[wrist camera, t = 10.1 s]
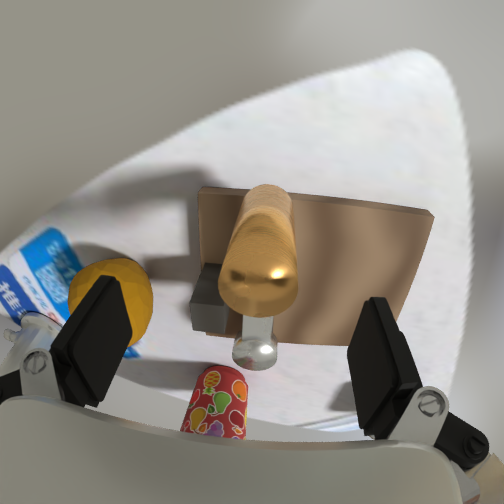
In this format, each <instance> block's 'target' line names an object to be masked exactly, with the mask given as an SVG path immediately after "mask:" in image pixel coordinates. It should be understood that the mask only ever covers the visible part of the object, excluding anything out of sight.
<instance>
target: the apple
mask: <svg viewBox="0 0 504 504" xmlns="http://www.w3.org/2000/svg"><path fill="white" fill-rule="evenodd" d="M100 275H108V276H114V277H115V278H116V279H117V280H118V281H119V282H120V285H121V289H122V293H123V297H124V301H125V304H126V308H127V312H128V316H129V319H130V323H131V326H132V330H133V334H132V338H131V340H130V343H129V345H128V347H129V346H131V345H133V344H134V343H135V342H137V341H138V340H140V339H141V338H142V336H143V335H144V334H145V332H146V329H147V327H148V324H149V322H150V319H151V316H152V313H153V292H152V287H151V283H150V281H149V278H148V276H147V274H146V272H145V271H144V269H143V268H142V267H141V266H140V265H139V264H138V263H137V262H135V261H132V260H129V259H127V258H116V259H106V260H103V261H99V262H96V263H93V264H91V265H89V266H87V267H85V268H83V269H82V270H80V271H79V272H78V273H77V274H76V275H75V276H74V278H73V280H72V282H71V284H70V288H69V295H68V308H69V312H70V315H71V314H72V313H73V311H74V310H75V309H76V307H77V306H78V304H79V303H80V302H81V300H82V299H83V298H84V296H85V295H86V293H87V292H88V291H89V289H90V288H91V287H92V285H93V284H94V283H95V281H96V280H97V279H98V278H99V276H100Z"/></svg>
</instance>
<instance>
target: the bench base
mask: <svg viewBox="0 0 504 504" xmlns="http://www.w3.org/2000/svg"><path fill="white" fill-rule="evenodd" d="M249 191H250V190H248V189H232V188H214V187H202V188H201V189H200V191H199V192H198V215H199V238H200V257H201V274H200V277H199V279H198V282H197V284H196V287H195V290H194V292H193V295H192V297H191V300H190V311H191V320H192V328H193V330H195V331H202V332H206V335H210V336H218V337H226V338H235V336H236V334H237V333H238V332H239V331H240V330H242V329H243V314H240V313H238V312H236V311H234V310H233V309H232V308H230V307H229V306H228V305H227V304H226V303H225V302H224V300H223V299H222V297H221V295H220V293H219V289H218V279H219V275H220V272H221V269H222V265H223V262H224V259H225V256H226V253H227V249H228V246H229V243H230V240H231V237H232V233H233V230H234V227H235V224H236V221H237V218H238V214H239V211H240V208H241V205H242V202H243V199H244V197H245V195H246V194H247V193H248V192H249ZM286 193H287V192H286ZM287 194H288V195H289V196H290V198H291V200H292V203H293V212H294V225H295V240H296V255H297V272H298V294H297V297H296V299H295V301H294V302H293V304H292V305H291V306H290V307H289V308H288V309H287V310H285V311H284V312H282V313H280V314H278V315H275V316H274V317H273V324H272V331H271V332H273V333H274V334H275V336H276V337H277V341H278V342H280V343H294V344H311V345H334V346H349V344H350V341H351V339H352V336H353V333H354V330H355V328H356V325H357V322H358V319H359V316H360V313H361V310H362V307H363V304H364V302H365V301H366V300H369V298H370V297H385V298H386V299H387V301H388V304H389V306H390V309H391V311H392V313H393V316H394V318H395V321H397V318H398V316H399V314H400V312H401V309H402V307H403V305H404V302H405V300H406V297H407V295H408V292H409V290H410V287H411V285H412V282H413V280H414V277H415V275H416V272H417V269H418V266H419V264H420V261H421V258H422V255H423V252H424V249H425V246H426V243H427V240H428V237H429V234H430V231H431V228H432V224H433V221H434V218H435V217H434V216H433V215H432V214H431V213H430V212H429V211H428V210H424V209H418V208H411V207H405V206H398V205H391V204H384V203H377V202H369V201H362V200H354V199H345V198H336V197H327V196H318V195H308V194H298V193H287Z"/></svg>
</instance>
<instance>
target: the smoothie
mask: <svg viewBox="0 0 504 504" xmlns="http://www.w3.org/2000/svg"><path fill="white" fill-rule="evenodd" d="M247 397H248V385H247V383H246V382H245V378H244V376H243V375H242V374H241V373H240V372H239V371H237V370H235V369H233V368H230V367H225V366H213V367H209V368H207V369H206V370H205V371H204V373H203V374H201V375H200V376H199V377H198V379H197V382H196V385H195V388H194V391H193V394H192V397H191V400H190V403H189V406H188V409H187V412H186V414H185V417H184V420H183V423H182V427H181V429H180V431H182V432H188V433H194V434H201V435H208V436H215V437H224V438H233V439H244V440H245V436H246V417H247Z"/></svg>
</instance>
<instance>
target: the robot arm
mask: <svg viewBox="0 0 504 504" xmlns="http://www.w3.org/2000/svg"><path fill="white" fill-rule="evenodd" d="M21 327H22V329H21V331H20V332H19V331H18V332H14V331H12V330H9V329H6V330H5V331H4V337H5V339H7V340H9V341H11V342H14V343H15V345H14V346H13V347H12V349H11V350H10V352H9V353H8V355H7V356H6V358H5V359H4V361H3V362H2V364H1V365H0V504H504V464H503V463H502V462H501V461H500V460H499V458H498V457H497V456H496V455H495V454H494V453H492V454H490V453H489V443H488V440H487V438H486V436H485V435H484V434H483V433H482V432H481V431H479V430H477V429H476V428H474V427H473V426H471V425H469V424H468V423H466V422H465V421H463V420H461V419H460V418H458V417H457V416H455V415H453V414H452V413H450V412H449V411H448V410H449V402H448V399H447V397H446V395H445V394H444V393H443V392H442V391H440V390H439V389H437V388H435V387H431V386H426V387H423V385H422V382H421V379H420V376H419V374H418V371H417V368H416V365H415V362H414V360H413V357H412V354H411V352H410V349H409V346H408V344H407V341H406V338H405V336H404V334H403V333H402V332H401V331H399V328H398V326H397V323H396V321H395V318H394V316H393V313H392V311H391V309H390V306H389V304H388V301H387V299H386V298H385V297H370V298H369V300H366V301H365V302H364V304H363V307H362V310H361V313H360V316H359V319H358V322H357V325H356V328H355V330H354V333H353V336H352V339H351V341H350V344H349V347H348V350H347V359H348V364H349V369H350V375H351V380H352V386H353V392H354V398H355V404H356V410H357V416H358V423H359V427H360V429H364V435H365V436H371V435H374V437H375V440H364V441H345V442H272V441H255V440H244V439H233V438H224V437H215V436H208V435H201V434H194V433H188V432H182V431H176V430H171V429H166V428H161V427H156V426H151V425H147V424H142V423H138V422H134V421H130V420H126V419H122V418H118V417H115V416H111V415H108V414H104V413H101V412H97V411H93V410H90V409H87V408H84V406H85V404H87V405H90V406H93V407H97V406H98V404H99V402H102V401H103V400H104V398H105V395H106V393H107V391H108V388H109V386H110V384H111V381H112V379H113V377H114V375H115V373H116V371H117V368H118V366H119V364H120V362H121V360H122V357H123V355H124V353H125V351H126V349H127V347H128V345H129V343H130V340H131V338H132V334H133V330H132V326H131V323H130V319H129V316H128V312H127V308H126V304H125V301H124V297H123V293H122V289H121V285H120V282H119V281H118V280H117V279H116V278H115V277H114V276H108V275H100V276H99V278H98V279H97V280H96V281H95V283H94V284H93V285H92V287H91V288H90V289H89V291H88V292H87V293H86V295H85V296H84V298H83V299H82V300H81V302H80V303H79V304H78V306H77V307H76V309H75V310H74V311H73V313H72V314H71V316H70V317H69V319H68V320H67V321H66V323H65V324H64V326H63V327H61V326H59V325H58V324H57V323H55V322H54V321H52V320H51V319H49V318H48V317H46V316H44V315H41V314H39V313H34V312H29V313H27V314H25V316H24V317H23V318H22V320H21Z"/></svg>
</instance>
